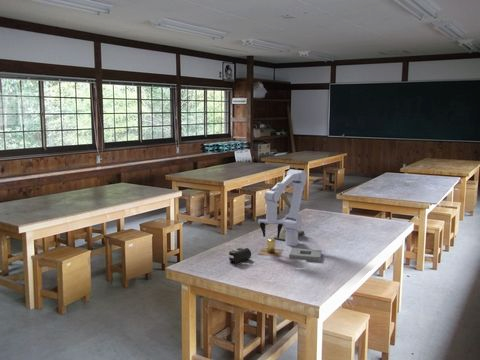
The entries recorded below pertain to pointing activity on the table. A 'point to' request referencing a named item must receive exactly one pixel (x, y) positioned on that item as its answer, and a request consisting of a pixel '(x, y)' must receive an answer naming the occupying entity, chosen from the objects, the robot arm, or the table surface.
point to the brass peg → (270, 245)
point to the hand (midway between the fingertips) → (271, 237)
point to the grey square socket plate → (306, 254)
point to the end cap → (239, 255)
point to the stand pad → (264, 252)
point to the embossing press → (283, 234)
